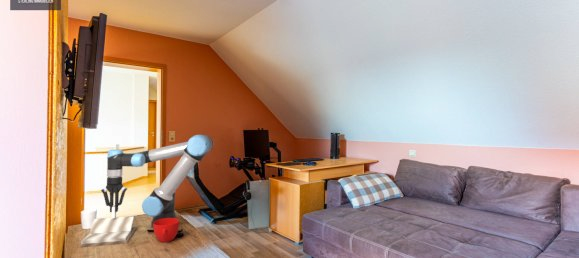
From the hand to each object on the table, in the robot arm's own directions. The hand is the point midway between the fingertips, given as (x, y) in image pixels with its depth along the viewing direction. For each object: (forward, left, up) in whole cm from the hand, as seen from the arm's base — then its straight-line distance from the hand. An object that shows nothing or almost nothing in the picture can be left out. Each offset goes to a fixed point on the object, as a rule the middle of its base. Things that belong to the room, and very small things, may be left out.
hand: (113, 217), depth 167 cm
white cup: (+17, -13, -9) cm, 23 cm away
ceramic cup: (-30, +21, -9) cm, 38 cm away
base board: (0, +8, -9) cm, 11 cm away
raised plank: (0, +2, -4) cm, 5 cm away
